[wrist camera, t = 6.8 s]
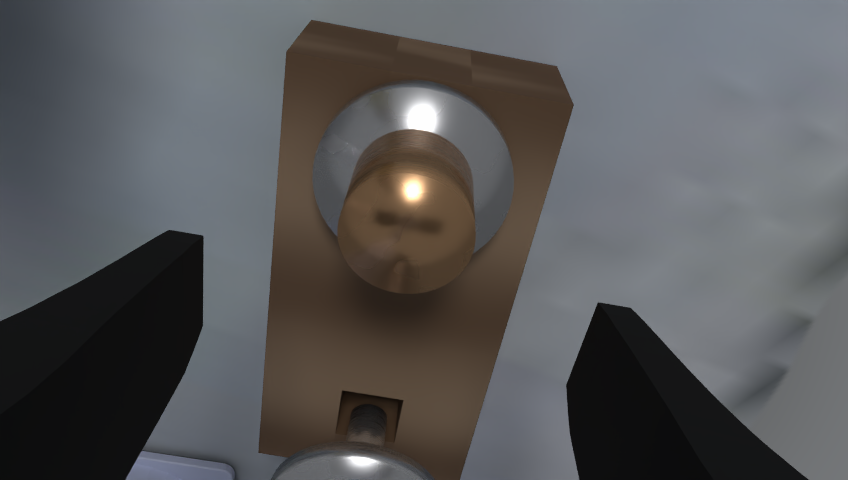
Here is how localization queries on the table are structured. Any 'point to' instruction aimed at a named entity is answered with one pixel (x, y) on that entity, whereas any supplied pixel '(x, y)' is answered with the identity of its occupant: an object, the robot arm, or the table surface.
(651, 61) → the table surface
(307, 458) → the chrome threaded knob
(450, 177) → the copper plunger
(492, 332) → the stand
